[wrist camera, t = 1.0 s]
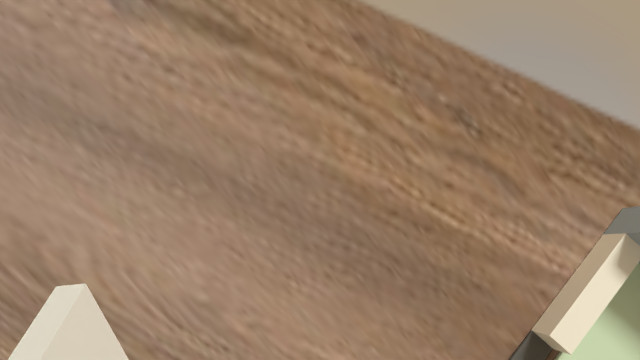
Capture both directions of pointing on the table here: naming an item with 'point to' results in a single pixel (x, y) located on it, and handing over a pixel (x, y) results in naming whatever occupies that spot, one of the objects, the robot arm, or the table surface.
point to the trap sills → (532, 348)
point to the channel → (592, 284)
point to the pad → (614, 327)
